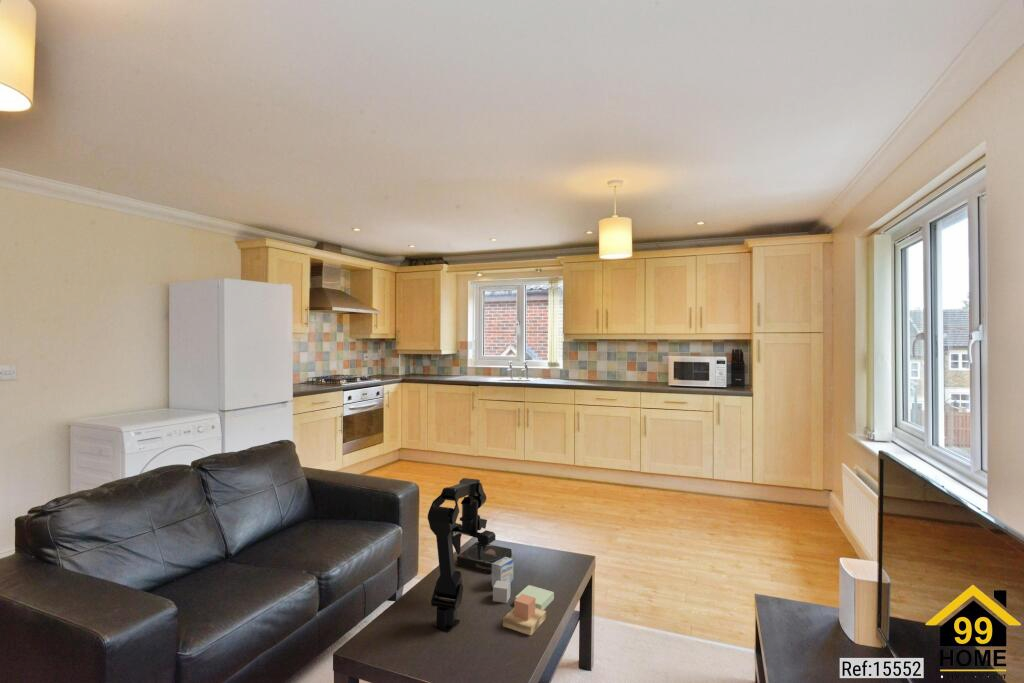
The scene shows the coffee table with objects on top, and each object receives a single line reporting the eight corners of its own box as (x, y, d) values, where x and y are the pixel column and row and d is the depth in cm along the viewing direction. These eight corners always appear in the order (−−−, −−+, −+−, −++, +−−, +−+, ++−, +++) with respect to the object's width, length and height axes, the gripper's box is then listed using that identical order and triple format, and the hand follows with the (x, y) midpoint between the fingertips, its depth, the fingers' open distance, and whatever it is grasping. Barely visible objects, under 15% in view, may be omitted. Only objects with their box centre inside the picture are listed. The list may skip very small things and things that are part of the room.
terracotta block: (528, 620, 159) (528, 604, 159) (514, 615, 162) (514, 600, 162) (535, 613, 164) (535, 597, 164) (521, 608, 166) (521, 593, 166)
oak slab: (530, 635, 156) (530, 627, 155) (502, 626, 160) (502, 618, 160) (546, 618, 165) (546, 611, 165) (519, 610, 170) (519, 602, 170)
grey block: (506, 603, 174) (506, 588, 174) (492, 601, 176) (493, 587, 176) (510, 596, 179) (510, 582, 179) (496, 594, 181) (497, 580, 180)
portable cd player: (511, 557, 211) (511, 548, 211) (493, 575, 196) (493, 564, 196) (477, 550, 218) (477, 541, 218) (457, 566, 203) (457, 556, 203)
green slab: (541, 612, 169) (541, 605, 169) (515, 604, 174) (515, 597, 174) (553, 599, 177) (553, 592, 177) (528, 591, 182) (528, 584, 182)
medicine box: (500, 590, 183) (500, 566, 183) (491, 586, 186) (491, 563, 186) (513, 582, 190) (514, 559, 190) (504, 578, 192) (504, 555, 192)
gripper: (503, 511, 183) (503, 554, 183) (461, 503, 192) (460, 543, 192) (487, 521, 173) (486, 566, 173) (443, 511, 182) (443, 554, 183)
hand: (469, 557), depth 181 cm, fingers open, 9 cm apart
